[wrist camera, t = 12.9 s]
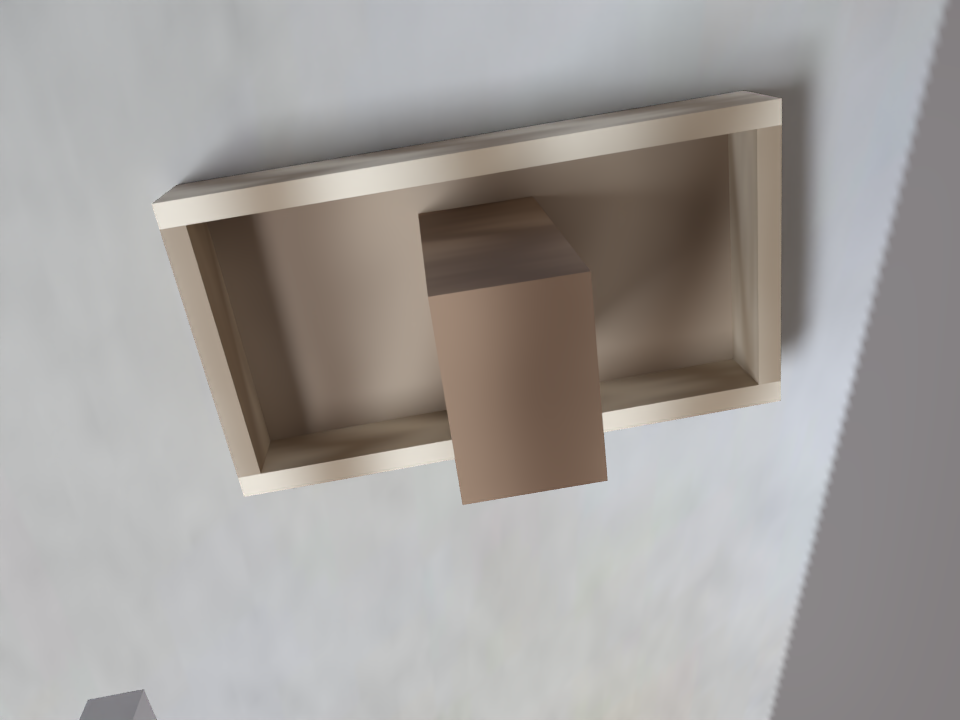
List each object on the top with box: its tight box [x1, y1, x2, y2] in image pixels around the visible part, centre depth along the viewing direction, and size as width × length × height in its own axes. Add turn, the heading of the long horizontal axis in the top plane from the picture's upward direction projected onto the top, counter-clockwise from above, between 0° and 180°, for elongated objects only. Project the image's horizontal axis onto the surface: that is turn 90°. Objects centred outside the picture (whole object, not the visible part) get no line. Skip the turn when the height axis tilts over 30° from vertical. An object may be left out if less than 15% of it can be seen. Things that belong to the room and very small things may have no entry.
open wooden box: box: [152, 91, 782, 497], centre depth 28 cm, size 20×11×3 cm, turn 98°
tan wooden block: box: [418, 196, 607, 505], centre depth 25 cm, size 4×6×9 cm, turn 7°
